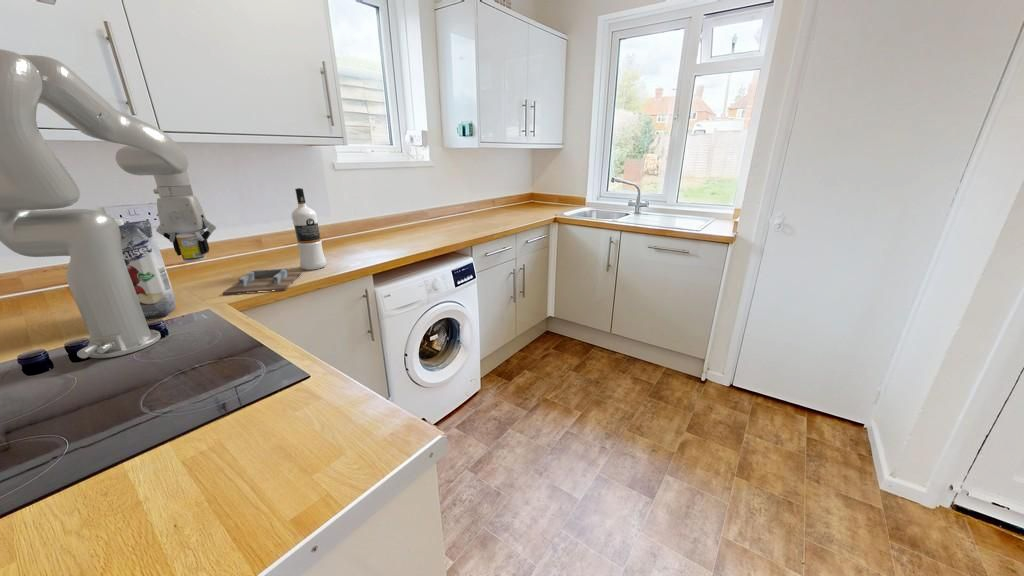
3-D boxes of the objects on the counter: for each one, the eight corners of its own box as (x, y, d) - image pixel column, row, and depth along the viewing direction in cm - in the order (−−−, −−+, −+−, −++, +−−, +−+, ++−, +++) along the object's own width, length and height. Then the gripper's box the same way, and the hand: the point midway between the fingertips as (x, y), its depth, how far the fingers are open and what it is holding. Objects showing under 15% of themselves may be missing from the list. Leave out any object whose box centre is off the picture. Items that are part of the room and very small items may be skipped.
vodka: (322, 262, 157) (308, 186, 147) (330, 267, 151) (316, 188, 141) (297, 267, 151) (281, 188, 141) (305, 272, 145) (288, 190, 135)
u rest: (285, 290, 126) (282, 280, 125) (223, 295, 122) (220, 284, 121) (301, 274, 142) (300, 265, 141) (247, 278, 139) (245, 268, 138)
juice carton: (137, 312, 110) (102, 217, 101) (181, 306, 114) (151, 214, 105) (120, 324, 103) (80, 222, 94) (168, 318, 106) (135, 219, 97)
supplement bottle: (188, 259, 120) (179, 225, 116) (209, 257, 121) (200, 224, 118) (179, 263, 115) (169, 228, 111) (201, 261, 116) (192, 227, 113)
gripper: (132, 194, 107) (152, 258, 112) (202, 192, 110) (219, 254, 115) (150, 192, 114) (168, 253, 119) (216, 190, 117) (231, 249, 122)
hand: (193, 253), depth 117 cm, fingers closed on supplement bottle, 5 cm apart
